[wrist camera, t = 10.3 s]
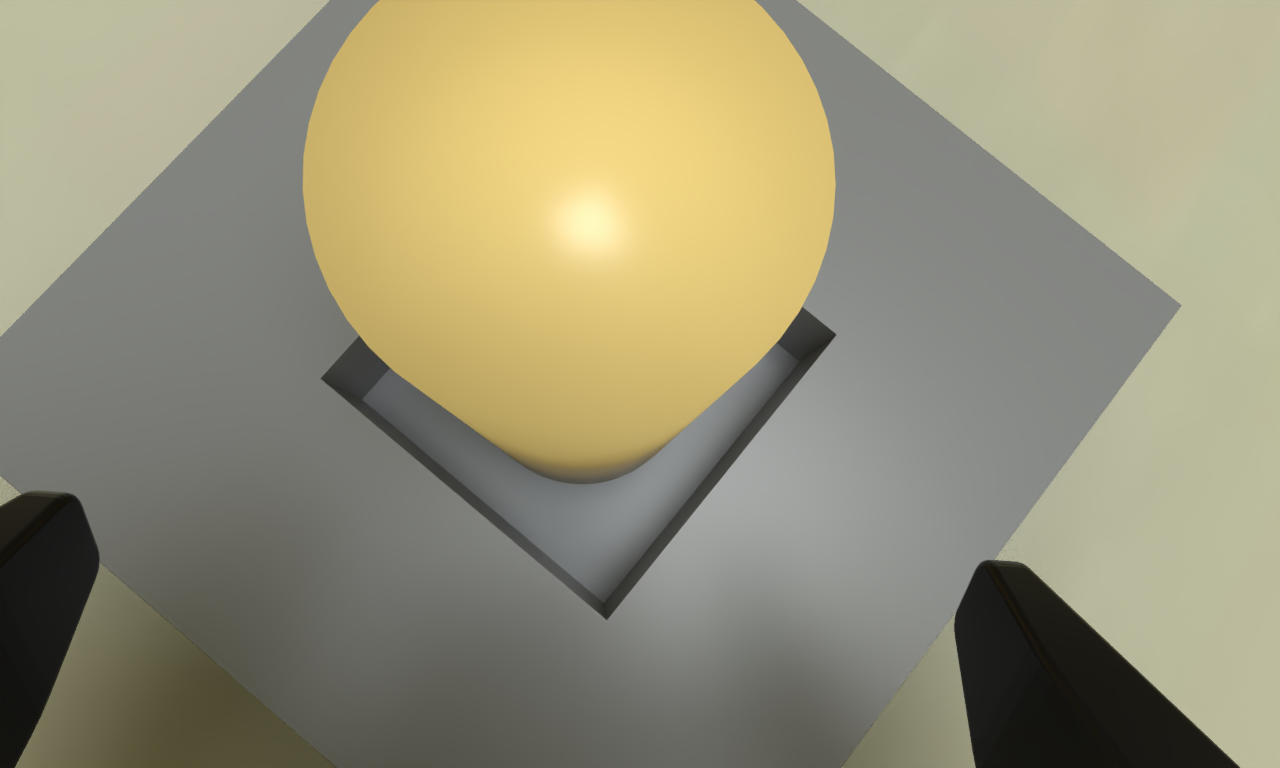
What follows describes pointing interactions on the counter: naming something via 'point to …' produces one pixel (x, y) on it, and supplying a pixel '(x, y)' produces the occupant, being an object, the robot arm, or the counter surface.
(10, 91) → the counter surface
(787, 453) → the socket block
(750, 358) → the plug
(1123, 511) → the counter surface
